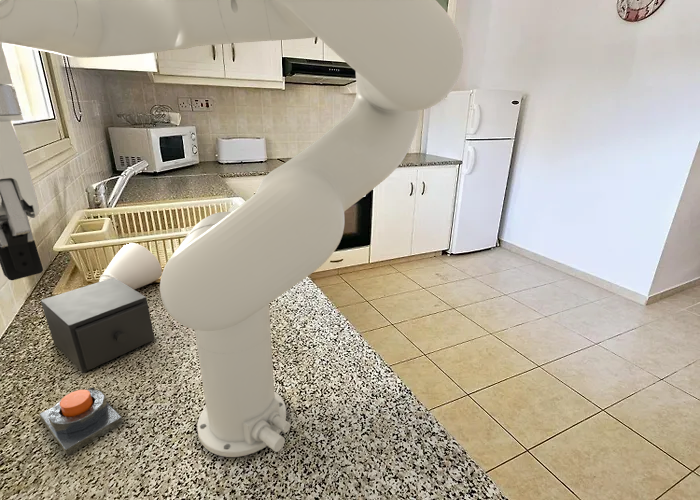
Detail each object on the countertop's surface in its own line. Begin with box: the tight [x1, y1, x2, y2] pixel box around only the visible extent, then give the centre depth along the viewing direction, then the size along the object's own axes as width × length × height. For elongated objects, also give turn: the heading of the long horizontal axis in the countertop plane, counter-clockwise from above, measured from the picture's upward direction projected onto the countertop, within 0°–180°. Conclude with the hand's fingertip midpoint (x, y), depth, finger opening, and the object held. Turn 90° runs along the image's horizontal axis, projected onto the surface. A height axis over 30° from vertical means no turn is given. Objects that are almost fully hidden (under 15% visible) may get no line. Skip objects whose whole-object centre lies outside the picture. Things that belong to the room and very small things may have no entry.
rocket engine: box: [98, 242, 163, 290], centre depth 88 cm, size 12×12×18 cm
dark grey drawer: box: [75, 303, 155, 371], centre depth 70 cm, size 14×11×8 cm
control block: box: [39, 386, 124, 457], centre depth 54 cm, size 10×7×3 cm
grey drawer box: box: [40, 278, 155, 374], centre depth 71 cm, size 14×13×10 cm
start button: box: [59, 389, 93, 417], centre depth 53 cm, size 4×4×2 cm
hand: (24, 274), depth 43 cm, fingers closed
